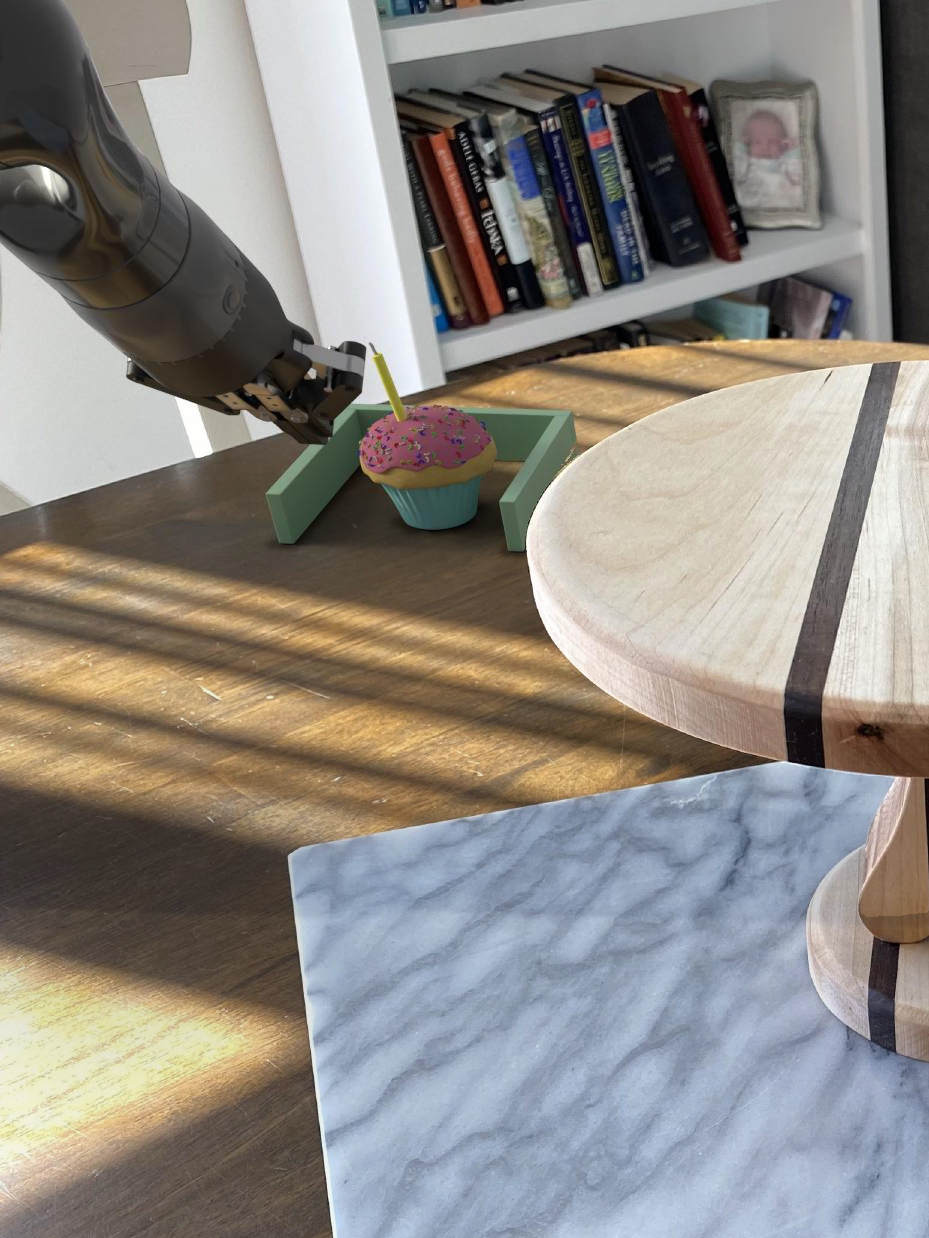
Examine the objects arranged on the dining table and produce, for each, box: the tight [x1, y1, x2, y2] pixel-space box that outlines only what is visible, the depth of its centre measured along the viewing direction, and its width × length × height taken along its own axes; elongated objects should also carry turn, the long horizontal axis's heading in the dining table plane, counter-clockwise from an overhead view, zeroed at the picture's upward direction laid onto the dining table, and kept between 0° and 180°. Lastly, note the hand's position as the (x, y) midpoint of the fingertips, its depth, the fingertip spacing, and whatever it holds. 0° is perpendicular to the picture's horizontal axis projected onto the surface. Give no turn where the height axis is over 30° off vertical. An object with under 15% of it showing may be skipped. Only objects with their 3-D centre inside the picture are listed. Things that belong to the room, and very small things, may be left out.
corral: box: [265, 403, 580, 553], centre depth 114 cm, size 15×16×4 cm
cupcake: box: [358, 341, 497, 531], centre depth 110 cm, size 9×8×12 cm
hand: (316, 428), depth 97 cm, fingers closed
